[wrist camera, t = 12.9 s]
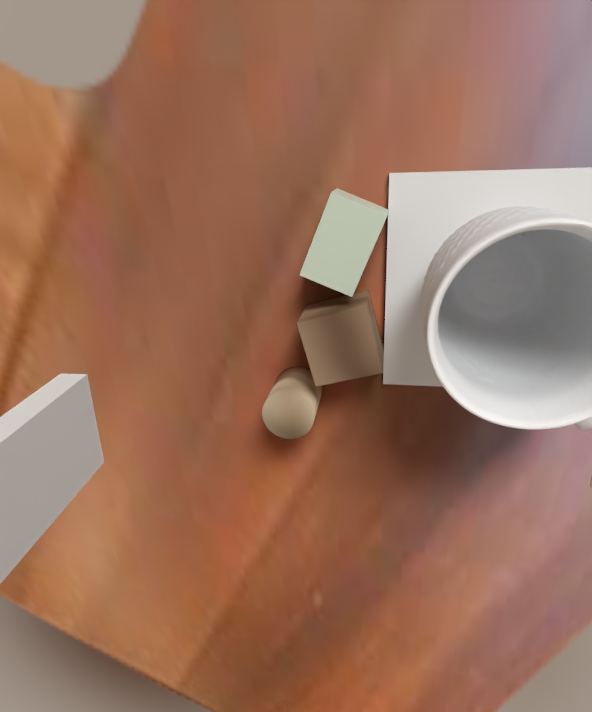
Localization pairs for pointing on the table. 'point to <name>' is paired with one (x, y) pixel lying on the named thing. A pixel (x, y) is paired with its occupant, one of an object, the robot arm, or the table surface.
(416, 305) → the pad
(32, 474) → the robot arm
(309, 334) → the walnut block
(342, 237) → the sage block
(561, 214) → the mug
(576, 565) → the table surface
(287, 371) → the beech cylinder
